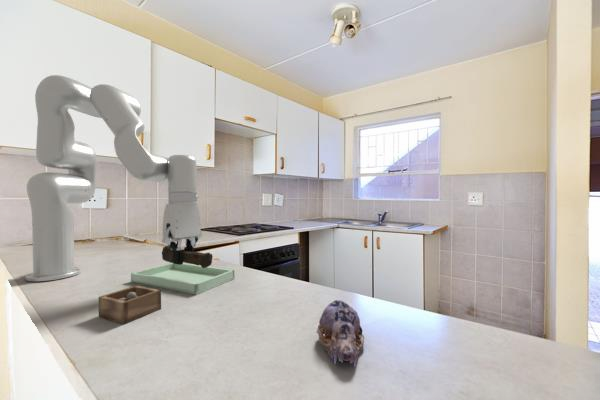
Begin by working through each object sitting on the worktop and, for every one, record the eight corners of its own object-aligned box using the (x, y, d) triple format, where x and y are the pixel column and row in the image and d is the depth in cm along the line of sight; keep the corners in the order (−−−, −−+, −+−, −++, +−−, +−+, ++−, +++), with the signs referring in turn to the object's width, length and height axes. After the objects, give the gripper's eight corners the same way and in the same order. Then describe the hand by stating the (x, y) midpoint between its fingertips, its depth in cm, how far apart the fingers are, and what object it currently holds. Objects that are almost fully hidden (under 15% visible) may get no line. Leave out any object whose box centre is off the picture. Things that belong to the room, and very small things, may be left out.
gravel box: (98, 316, 56) (98, 295, 56) (136, 303, 63) (136, 284, 63) (124, 324, 53) (123, 301, 53) (161, 308, 60) (160, 288, 60)
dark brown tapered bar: (213, 266, 78) (213, 249, 78) (202, 269, 74) (201, 251, 74) (170, 259, 87) (170, 244, 87) (158, 261, 84) (158, 246, 84)
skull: (367, 374, 38) (367, 329, 38) (311, 369, 39) (311, 325, 39) (362, 332, 50) (362, 298, 50) (319, 329, 51) (319, 295, 51)
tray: (131, 282, 79) (130, 273, 79) (174, 269, 92) (174, 262, 92) (196, 294, 69) (196, 284, 69) (234, 278, 82) (234, 270, 82)
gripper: (194, 198, 89) (195, 255, 90) (147, 199, 74) (148, 267, 75) (213, 198, 86) (213, 257, 86) (167, 199, 71) (168, 270, 71)
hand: (183, 261), depth 80 cm, fingers closed on dark brown tapered bar, 3 cm apart
